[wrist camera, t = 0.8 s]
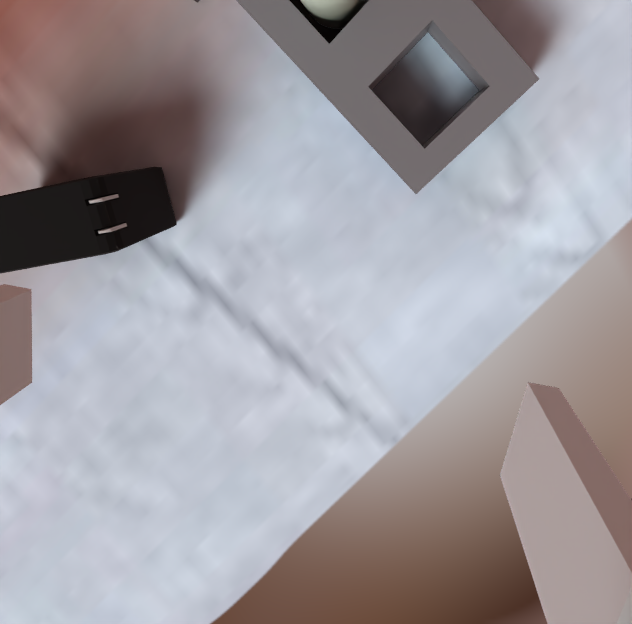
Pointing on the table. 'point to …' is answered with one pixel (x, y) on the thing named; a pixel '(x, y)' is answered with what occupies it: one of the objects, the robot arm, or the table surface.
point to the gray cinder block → (382, 56)
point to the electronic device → (82, 218)
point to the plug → (333, 11)
